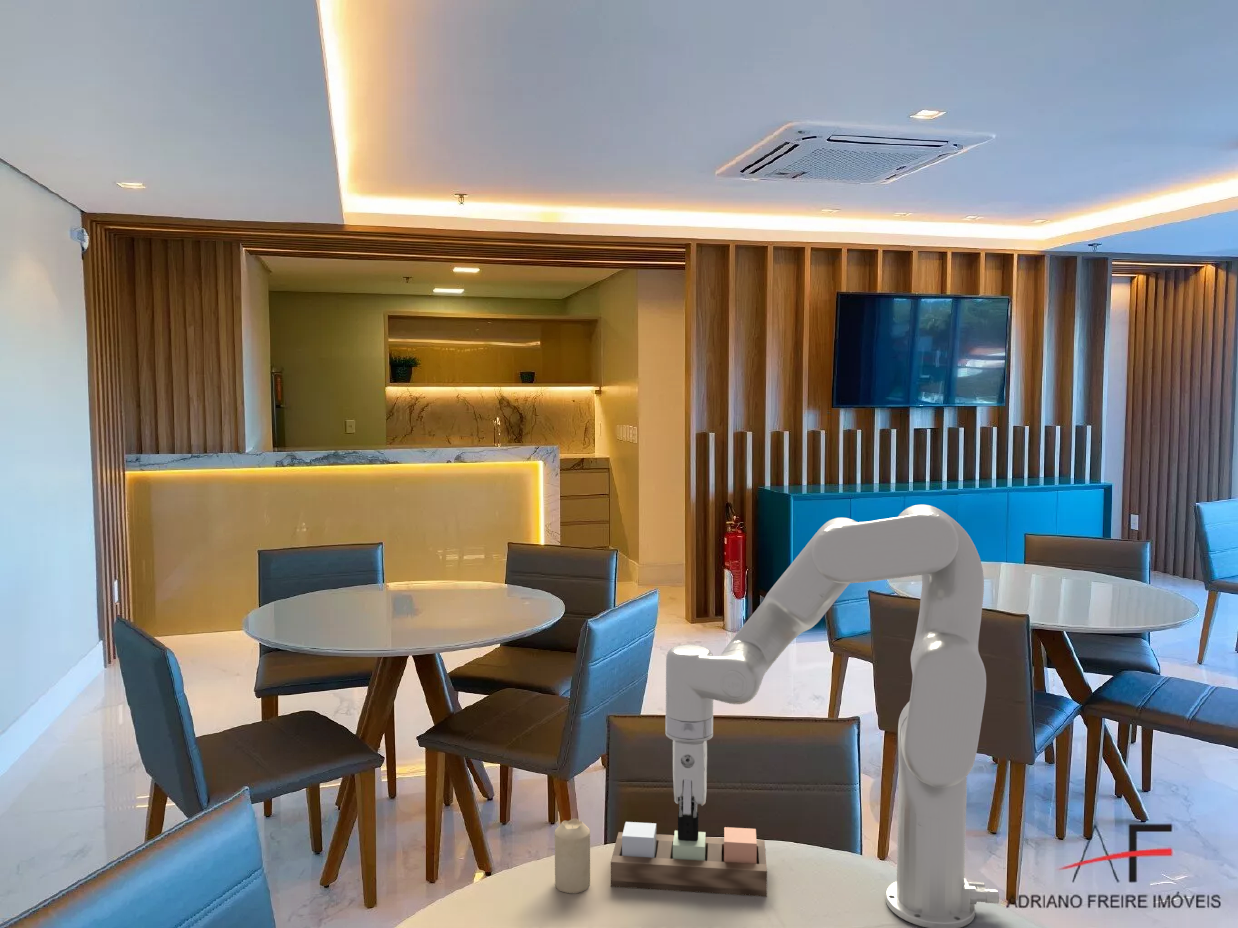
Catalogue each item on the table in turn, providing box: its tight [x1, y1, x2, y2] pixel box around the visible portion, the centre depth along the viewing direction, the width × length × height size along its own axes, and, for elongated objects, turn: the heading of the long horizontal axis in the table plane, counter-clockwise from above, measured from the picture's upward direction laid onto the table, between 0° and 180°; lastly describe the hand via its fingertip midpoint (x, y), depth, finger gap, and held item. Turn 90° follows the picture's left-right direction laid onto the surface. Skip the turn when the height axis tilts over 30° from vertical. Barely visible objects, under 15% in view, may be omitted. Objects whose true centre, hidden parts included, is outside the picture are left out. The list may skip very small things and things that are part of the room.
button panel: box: [610, 831, 768, 898], centre depth 143 cm, size 24×10×4 cm, turn 83°
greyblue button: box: [622, 821, 657, 858], centre depth 144 cm, size 5×5×4 cm
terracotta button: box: [723, 826, 757, 864], centre depth 142 cm, size 5×5×4 cm
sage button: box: [673, 830, 707, 861], centre depth 143 cm, size 5×5×4 cm
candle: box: [554, 817, 591, 894], centre depth 140 cm, size 6×6×10 cm
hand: (688, 838), depth 143 cm, fingers closed
